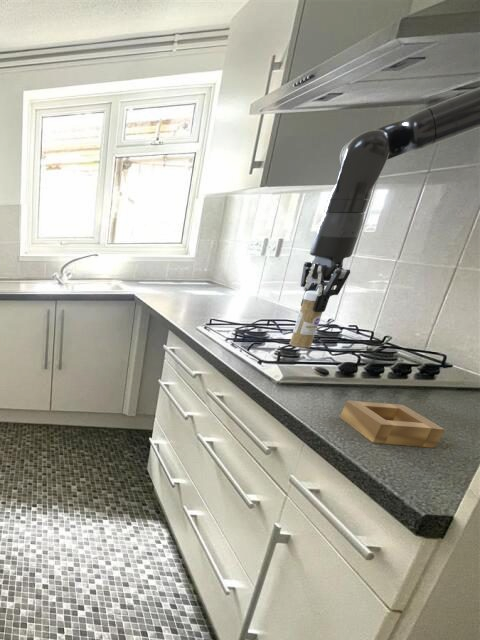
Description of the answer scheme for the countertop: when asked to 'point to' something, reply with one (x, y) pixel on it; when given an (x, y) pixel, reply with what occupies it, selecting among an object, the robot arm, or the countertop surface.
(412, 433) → the holder
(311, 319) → the sprinkles bottle
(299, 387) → the countertop surface
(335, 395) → the countertop surface
